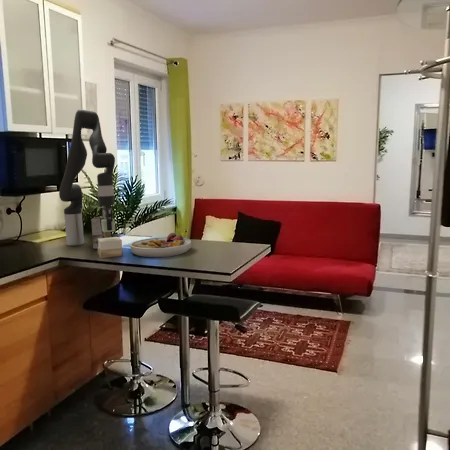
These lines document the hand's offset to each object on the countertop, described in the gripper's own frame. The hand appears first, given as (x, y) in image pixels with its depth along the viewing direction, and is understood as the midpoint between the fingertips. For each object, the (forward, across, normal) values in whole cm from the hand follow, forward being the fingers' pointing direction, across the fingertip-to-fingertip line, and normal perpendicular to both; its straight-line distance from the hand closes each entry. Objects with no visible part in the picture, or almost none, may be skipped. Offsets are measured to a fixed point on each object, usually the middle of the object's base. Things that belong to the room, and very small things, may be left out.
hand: (108, 229), depth 226 cm
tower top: (+9, 0, 0) cm, 9 cm away
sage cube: (+1, 0, 0) cm, 1 cm away
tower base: (+13, 0, 0) cm, 13 cm away
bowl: (+13, -7, -24) cm, 28 cm away
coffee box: (+13, +22, 0) cm, 25 cm away
